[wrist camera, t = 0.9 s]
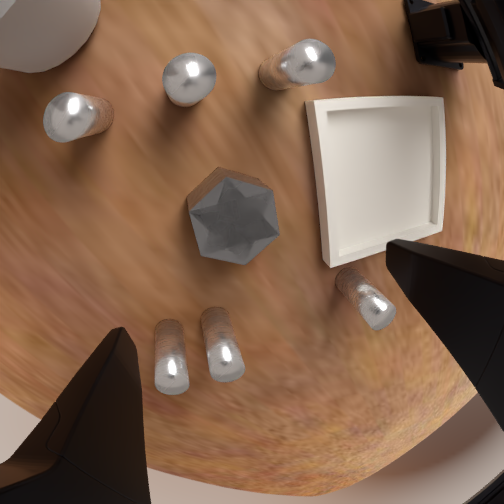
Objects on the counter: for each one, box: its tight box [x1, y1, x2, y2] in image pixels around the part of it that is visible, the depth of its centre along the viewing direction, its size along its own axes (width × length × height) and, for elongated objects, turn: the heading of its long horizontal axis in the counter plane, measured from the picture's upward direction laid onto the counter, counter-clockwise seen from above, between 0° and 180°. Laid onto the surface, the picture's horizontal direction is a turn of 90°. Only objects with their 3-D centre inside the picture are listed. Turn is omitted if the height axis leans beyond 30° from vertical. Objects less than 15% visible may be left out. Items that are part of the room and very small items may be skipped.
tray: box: [305, 96, 446, 268], centre depth 22 cm, size 13×13×2 cm
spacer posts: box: [43, 39, 396, 395], centre depth 19 cm, size 18×20×6 cm
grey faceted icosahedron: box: [187, 167, 280, 265], centre depth 20 cm, size 5×6×4 cm
